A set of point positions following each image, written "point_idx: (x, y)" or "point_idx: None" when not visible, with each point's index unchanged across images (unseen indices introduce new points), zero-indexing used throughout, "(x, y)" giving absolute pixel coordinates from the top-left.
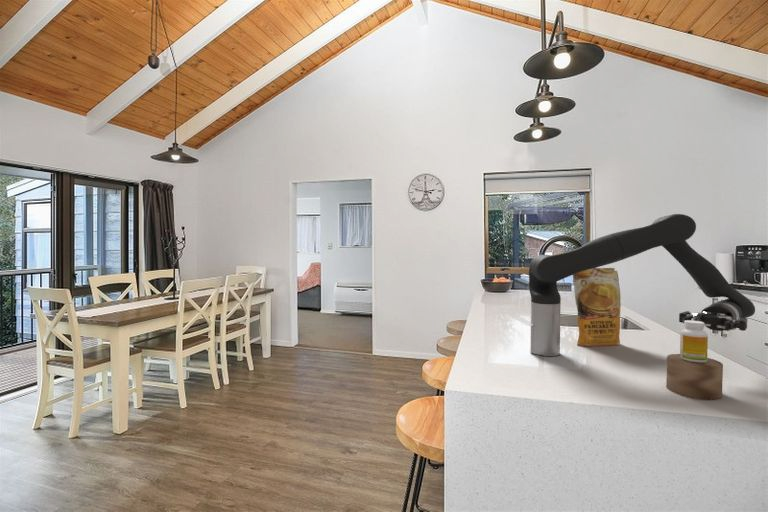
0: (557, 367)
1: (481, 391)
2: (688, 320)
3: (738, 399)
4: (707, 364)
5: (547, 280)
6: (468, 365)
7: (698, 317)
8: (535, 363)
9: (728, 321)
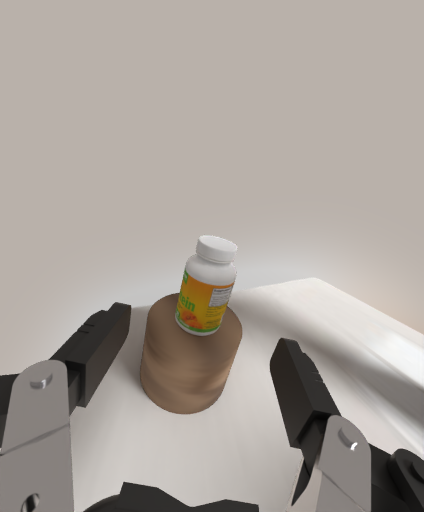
0: (362, 360)
1: (305, 279)
2: (232, 248)
3: (113, 369)
4: (174, 306)
5: None
6: (379, 314)
7: (300, 505)
8: (388, 359)
9: (103, 327)
